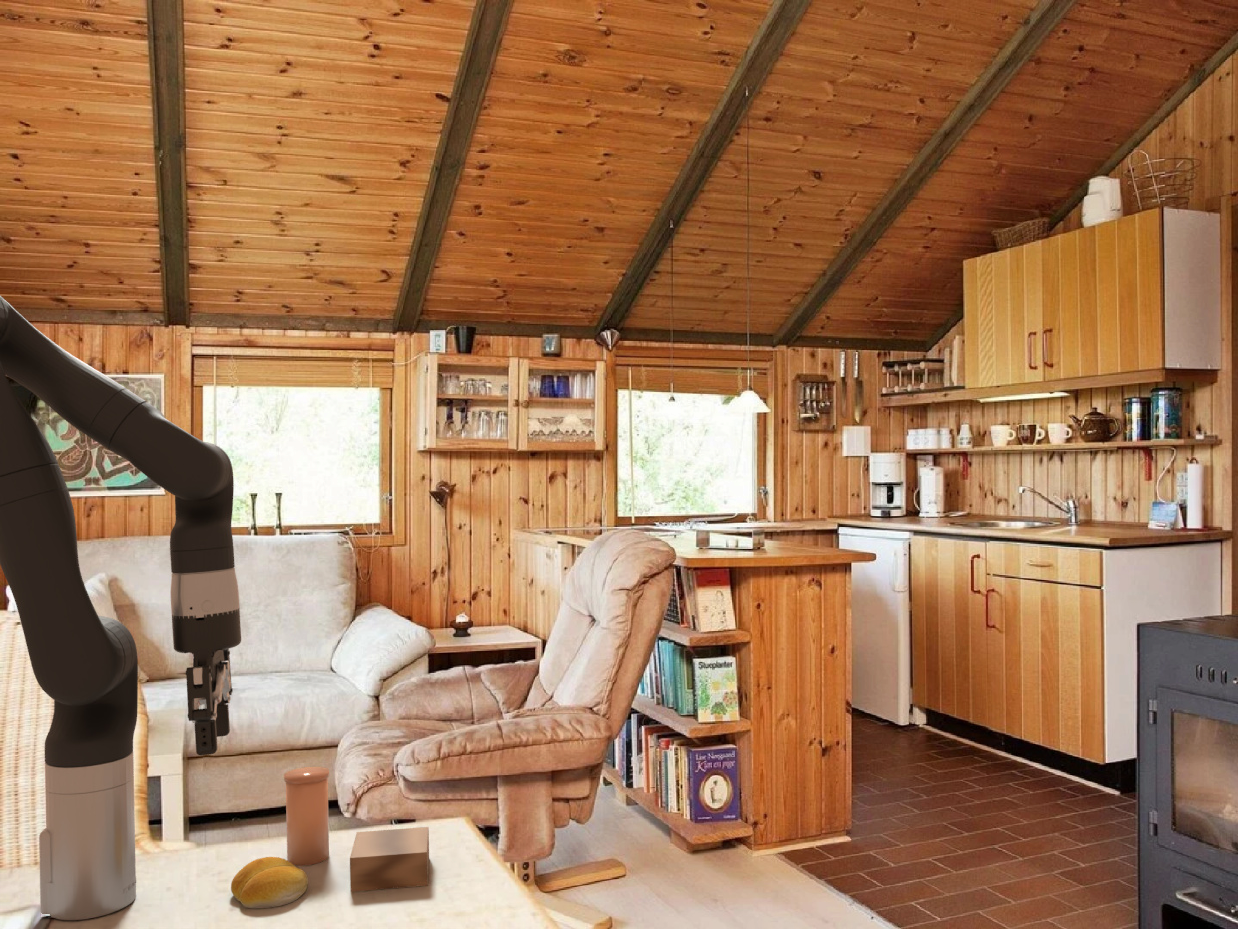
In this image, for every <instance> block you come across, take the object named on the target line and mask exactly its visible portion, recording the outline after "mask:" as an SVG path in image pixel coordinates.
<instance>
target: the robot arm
mask: <svg viewBox="0 0 1238 929" xmlns="http://www.w3.org/2000/svg"><path fill="white" fill-rule="evenodd" d="M7 377H8V378H9V379H11V380H13V381H14V382H15V383H18V384H20V385H21V386H22V387H24V388H26V389H27V390H28V391H30V393H32V394H34V395H35V396H37V397H38V398H39V399H40V400H41V401H42V402H43V403H45V404H46V405H47V406H48V407H49V408H50V409H51V410H52V411H54V412H55V413H56V414H57V415H58V416H60V417H61V418H62V419H63V420H65V421H66V422H67V423H68V424H69V425H71V426H72V427H74V428H75V429H77V430H78V431H80V432H81V433H83V435H85V436H87V437H89V438H90V439H91V440H93V441H95V442H96V443H98V444H99V445H101V446H102V447H104V448H105V449H107V450H109V451H110V452H112V453H114V454H116V456H119V457H121V458H123V459H125V460H126V461H128V462H129V463H130V464H131V465H132V466H133V467H135V468H136V469H138V471H140V472H141V473H142V474H143V475H144V476H146V477H147V478H149V479H150V480H151V481H152V482H153V483H155V484H156V485H158V486H159V487H160V488H162V489H163V490H164V491H166V492H168V493H170V494H171V495H173V496H174V509H175V510H174V511H175V512H174V513H175V523H174V524H173V527H172V529H171V532H170V535H169V536H170V537H169V555H170V569H171V570H170V571H171V580H170V581H171V582H170V583H171V584H170V608H171V609H170V610H171V612H170V613H171V623H172V624H171V625H172V626H171V627H172V643H173V644H172V645H173V650H174V651H175V652H177V653H180V654H189V653H190V654H192V656H193V660H192V662H193V664H192V666H191V667H186V670H185V677H186V678H185V679H186V693H187V697H186V700H187V719H188V721H189V722H192V723H194V736H195V752H196V754H197V756H205V755H206V756H209V755H214V754H216V753H217V751H218V748H219V747H218V738H220V737H226V736H228V735H229V734H230V731H231V728H230V727H231V726H230V710H229V708H230V707H229V704H230V702H231V696H232V693H233V691H234V690H233V688H232V687H233V686H232V675H231V674H232V671H231V659H230V658H231V657H230V655H231V650H230V649H232V648H236V647H237V646H239V645H240V644H241V643H242V629H241V613H240V612H241V611H240V600H239V599H240V598H239V594H240V593H239V585H238V579H237V574H236V570H235V569H236V568H235V567H236V566H235V552H234V550H235V548H234V538H233V534H232V533H233V532H232V518H233V509H234V508H233V506H234V489H235V488H234V485H235V484H234V481H235V480H234V470H233V469H234V468H233V466H232V465H233V464H232V462H231V459H230V457H229V456H228V454H227V452H226V451H225V450H224V449H223V448H221V447H220V446H218V445H216V444H214V443H211V442H206V441H203V440H201V439H199V438H198V437H196V436H195V435H192V434H191V433H189V432H187V431H186V430H184V429H183V428H181V427H180V426H179V425H176V424H175V423H173V422H172V421H170V420H168V419H167V418H166V417H165V415H164V414H163V413H162V412H161V411H160V410H159V409H158V408H157V407H155V406H154V405H152V404H151V403H150V402H148V401H147V400H145V399H143V398H142V397H140V396H139V395H137V394H136V393H134V392H132V391H131V390H129V389H128V388H127V387H125V386H123V385H122V384H121V383H119V382H117V381H116V380H114V379H112V378H111V377H109V376H108V375H105V374H104V373H102V372H101V371H99V370H97V369H95V368H94V367H93V366H91V365H89V364H87V363H86V362H84V361H82V360H81V359H80V358H77V357H76V356H74V355H73V354H71V353H70V352H68V351H67V350H66V349H64V348H63V347H61V346H60V345H58V344H57V343H56V342H54V341H53V340H52V339H50V338H49V337H47V336H46V335H45V334H44V333H42V332H41V331H40V330H39V329H37V328H36V327H35V326H34V325H33V324H32V323H31V322H30V321H28V319H26V317H24V316H23V315H22V314H21V313H19V311H17V310H16V309H15V308H14V307H13V305H11V304H10V303H9V302H8V301H7V300H6V299H4V297H2V295H0V568H1V570H2V573H3V575H4V577H5V580H6V581H7V584H8V587H9V589H10V591H11V593H12V597H13V599H14V602H15V605H16V610H17V612H18V617H19V620H20V623H21V627H22V632H23V635H24V639H25V644H26V648H27V653H28V655H29V660H30V665H31V668H32V671H33V675H34V678H35V680H36V681H37V683H38V685H39V686H40V688H41V689H42V691H43V692H44V693H45V694H46V695H47V696H49V698H51V699H52V700H54V702H53V704H54V705H53V716H52V721H51V725H50V728H49V730H48V732H47V735H46V737H45V741H44V780H45V784H44V786H45V787H44V788H45V829H43V830H42V831H41V832H40V833H39V835H38V836H39V837H38V839H39V840H38V842H39V844H38V845H39V893H40V895H39V896H40V898H39V899H40V901H39V902H40V903H39V904H40V914H41V913H42V914H50V916H51V917H50V918H53V919H57V920H62V921H63V920H64V921H77V920H87V919H93V918H97V917H102V916H105V915H109V914H112V913H114V912H117V911H120V910H121V909H125V907H127V906H129V905H130V904H132V902H134V900H136V897H137V874H136V873H137V871H136V869H137V868H136V822H135V821H136V819H135V815H136V814H135V776H134V775H135V773H134V771H135V770H134V769H135V768H134V767H135V766H134V764H135V762H134V735H135V730H136V727H137V721H138V720H137V719H138V710H139V708H138V707H139V705H138V704H139V702H138V701H139V700H138V698H139V697H138V696H139V695H138V693H139V681H138V680H139V678H138V677H139V667H138V666H139V665H138V664H139V662H138V660H139V659H138V651H137V645H136V642H135V639H134V637H133V635H132V633H131V631H130V630H129V629H128V628H127V627H126V625H124V624H123V623H122V622H120V621H119V620H116V619H115V618H112V617H109V616H103V615H98V613H97V611H96V608H95V606H94V604H93V602H92V600H91V598H90V596H89V593H88V591H87V588H86V585H85V583H84V580H83V576H82V572H81V567H80V561H79V553H78V552H79V551H78V536H77V535H78V534H77V524H76V517H75V511H74V506H73V505H74V504H73V502H72V498H71V495H70V492H69V489H68V485H67V483H66V480H65V478H64V475H63V472H62V468H60V465H59V462H58V460H57V457H56V455H55V453H54V450H53V449H52V447H51V445H50V443H49V442H48V440H47V438H46V437H45V435H44V433H43V432H42V430H41V428H40V427H39V426H38V424H37V423H36V421H35V419H34V418H33V417H32V416H31V415H30V413H29V412H28V411H27V409H26V407H25V406H24V405H23V403H22V402H21V400H20V399H19V398H18V396H17V394H16V393H15V391H14V390H13V387H12V386H11V385H10V382H9V380H8V378H7ZM202 705H205V708H200V706H202Z"/></svg>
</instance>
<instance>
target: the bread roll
mask: <svg viewBox="0 0 1238 929" xmlns="http://www.w3.org/2000/svg"><path fill="white" fill-rule="evenodd" d="M308 879H309V878H308V876H307V873H306V872H305V871H304V870H303V869H301V868H299V867H297V866H296V865H293V864H292V863H291V862H289V861H287V859H285V858H282V857H280V856H279V857H277V856H265V857H261V858H257V859H254V860H251V861H250V862H249V863H247V864H245V866H243V867H242V868H241V869H240V870H239V871H238V872H237V873H236V874H235V876H233V878H232V880H231V885H230V890H231V894H232V895H233V897H234V898H235V899H236V900H237V901H238V902H240V903H241V904H242V906H243V907H244V908H247V909H269V908H276V907H277V908H278V907H282V906H285V905H288V904H290V903H293V902H295V901H296V900H298V899H299V898H300V897H301V896H302V895H303V894H304V893H306V891H307V889H308V885H309V884H308V881H309V880H308Z"/></svg>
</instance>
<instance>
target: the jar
mask: <svg viewBox="0 0 1238 929" xmlns="http://www.w3.org/2000/svg"><path fill="white" fill-rule="evenodd" d="M329 777H330V770H329V769H328V768H327V767H323V766H306V767H305V766H304V767H298V768H294V769H291V770H288V771H287V772H284V774H283V781H284V782H285V806H286V807H285V810H286V815H285V817H286V820H285V821H286V860H287V861H289V862H291V863H292V864H293V865H294V866H310V865H312V866H313V865H315V864H319V863H322V862H323V861H326V860H327V859H329V857H330V835H329V834H330V832H329V830H330V829H329V828H330V827H329V791H328V790H329V785H328V784H329V783H328V781H329V780H328V778H329Z"/></svg>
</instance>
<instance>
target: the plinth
mask: <svg viewBox="0 0 1238 929" xmlns="http://www.w3.org/2000/svg"><path fill="white" fill-rule="evenodd" d="M429 836H430V830H429V826H424V827H423V826H422V827H409V828H395V829H381V830H380V829H379V830H370V831H369V830H366V831H357V832H356V834H355V838H354V842H353V846H352V848H351V852H350V856H349V876H350V877H349V881H350V884H349V886H350V887H349V888H350V893H353V892H365V891H366V892H367V891H376V890H389V889H390V890H391V889H399V888H400V889H401V888H413V887H424V886H425V887H426V886H428V882H429V869H430V868H429V867H430V838H429Z"/></svg>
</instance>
